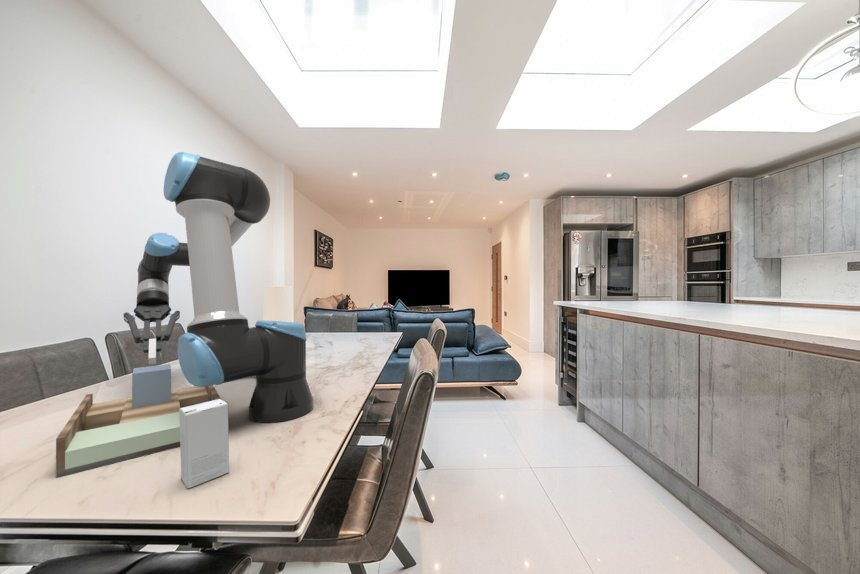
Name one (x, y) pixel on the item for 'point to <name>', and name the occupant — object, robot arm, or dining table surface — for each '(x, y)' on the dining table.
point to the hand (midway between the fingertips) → (152, 360)
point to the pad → (122, 439)
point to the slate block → (151, 385)
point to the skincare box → (204, 442)
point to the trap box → (119, 413)
